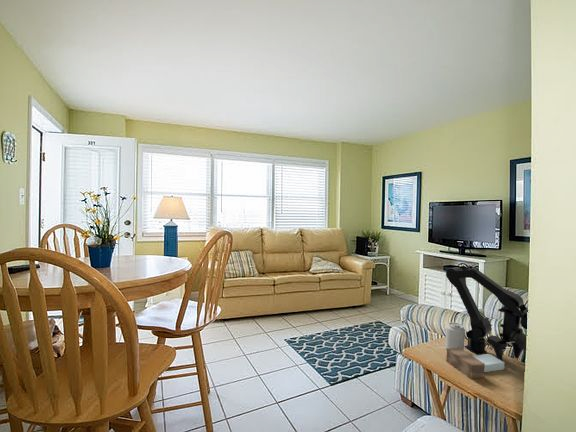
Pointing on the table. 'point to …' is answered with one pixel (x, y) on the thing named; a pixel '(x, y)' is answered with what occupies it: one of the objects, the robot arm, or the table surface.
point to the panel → (490, 362)
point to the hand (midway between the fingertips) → (508, 359)
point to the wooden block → (465, 363)
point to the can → (455, 336)
